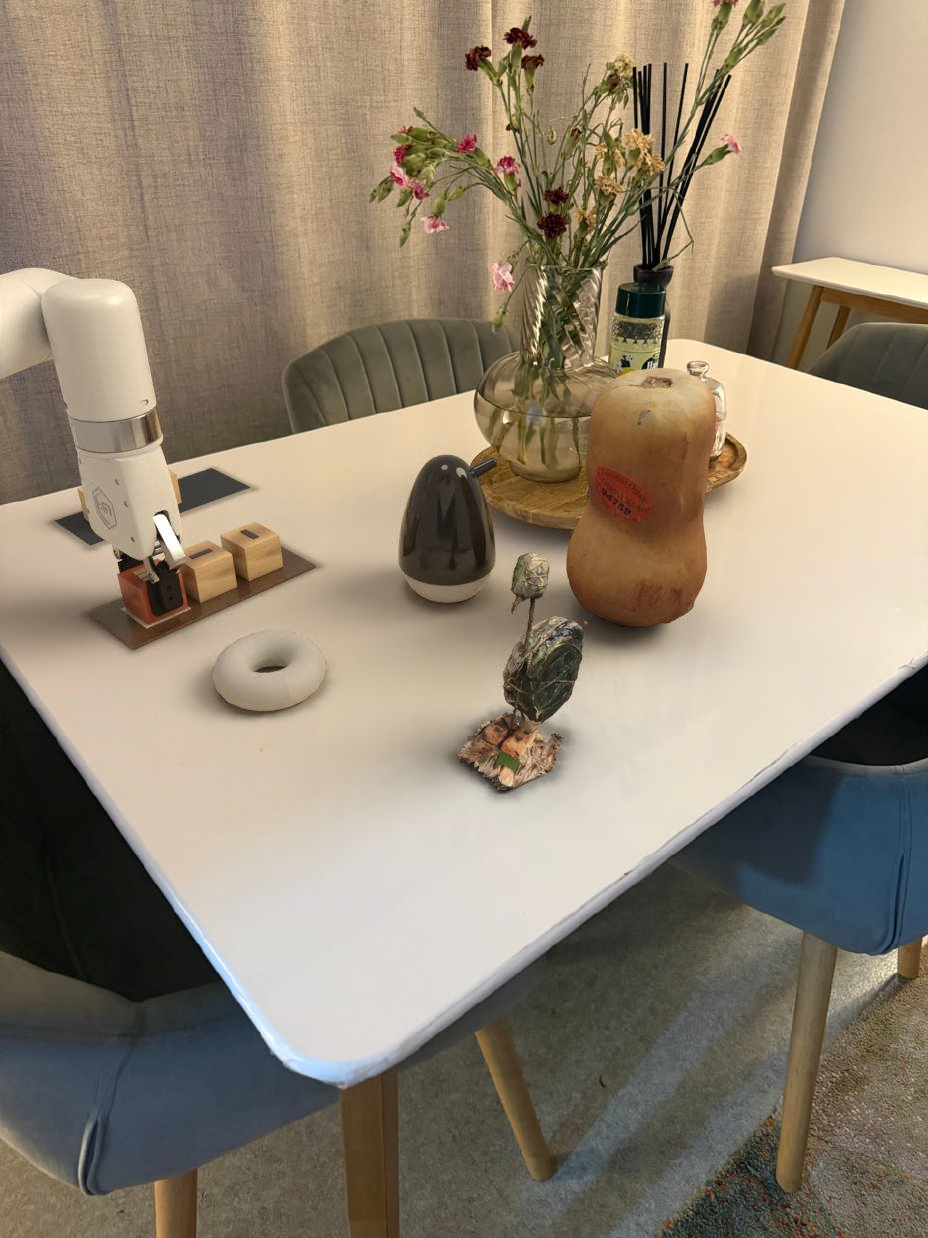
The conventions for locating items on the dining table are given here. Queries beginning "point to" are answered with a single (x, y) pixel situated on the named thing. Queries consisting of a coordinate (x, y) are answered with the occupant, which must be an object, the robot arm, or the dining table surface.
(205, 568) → the walnut word
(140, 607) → the red wooden slotted cube
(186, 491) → the slate word
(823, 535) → the dining table surface
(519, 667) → the plant with pod
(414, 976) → the dining table surface
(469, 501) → the pump dispenser
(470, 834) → the dining table surface
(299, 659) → the donut
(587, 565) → the butternut squash
